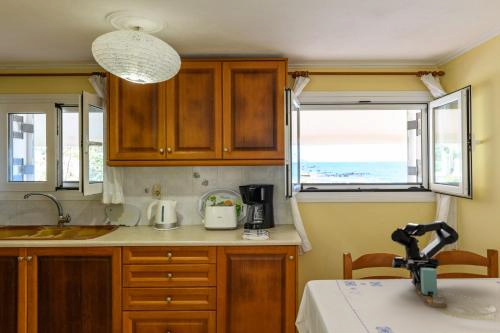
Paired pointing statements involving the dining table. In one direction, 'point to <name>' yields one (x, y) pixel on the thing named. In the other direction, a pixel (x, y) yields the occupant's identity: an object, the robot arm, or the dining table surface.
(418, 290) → the cord board
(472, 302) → the dining table surface
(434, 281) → the teal rectangular block
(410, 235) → the robot arm
